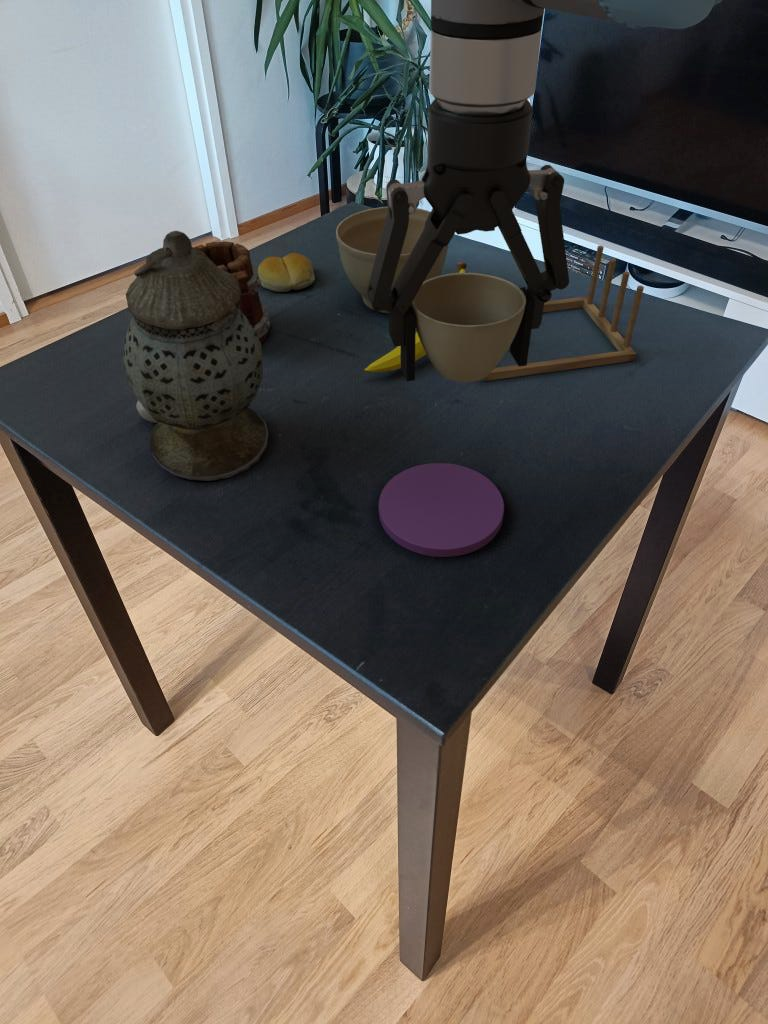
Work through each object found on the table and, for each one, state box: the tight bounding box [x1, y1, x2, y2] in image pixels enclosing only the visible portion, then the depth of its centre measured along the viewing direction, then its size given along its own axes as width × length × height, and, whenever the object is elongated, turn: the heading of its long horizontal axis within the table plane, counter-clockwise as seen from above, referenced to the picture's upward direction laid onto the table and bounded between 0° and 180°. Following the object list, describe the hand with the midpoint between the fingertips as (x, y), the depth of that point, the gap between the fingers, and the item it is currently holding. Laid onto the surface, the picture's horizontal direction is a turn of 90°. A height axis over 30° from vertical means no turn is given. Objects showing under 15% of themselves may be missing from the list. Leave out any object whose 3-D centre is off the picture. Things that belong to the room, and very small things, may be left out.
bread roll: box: [257, 252, 316, 293], centre depth 111 cm, size 8×9×4 cm
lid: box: [378, 462, 505, 558], centre depth 74 cm, size 13×13×1 cm
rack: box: [456, 245, 645, 382], centre depth 95 cm, size 16×21×10 cm
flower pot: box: [411, 272, 526, 383], centre depth 64 cm, size 10×10×7 cm
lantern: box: [122, 230, 270, 482], centre depth 74 cm, size 14×14×25 cm
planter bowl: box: [335, 206, 449, 314], centre depth 104 cm, size 16×16×11 cm
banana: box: [363, 262, 468, 373], centre depth 93 cm, size 3×19×6 cm, turn 127°
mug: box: [194, 240, 271, 344], centre depth 96 cm, size 12×14×15 cm
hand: (463, 365), depth 67 cm, fingers closed on flower pot, 10 cm apart
